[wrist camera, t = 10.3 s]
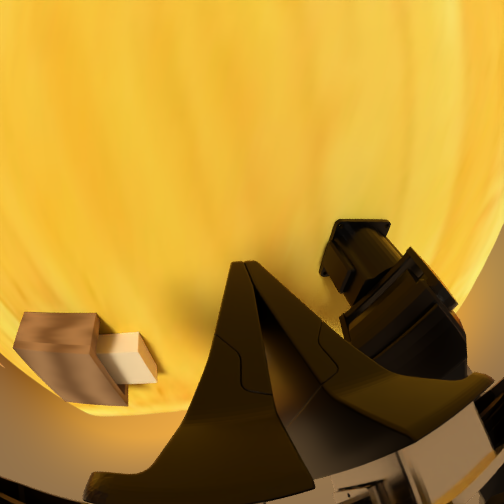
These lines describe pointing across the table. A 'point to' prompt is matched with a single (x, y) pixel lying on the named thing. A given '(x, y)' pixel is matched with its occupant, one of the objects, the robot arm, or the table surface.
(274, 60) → the table surface
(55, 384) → the wood grain block
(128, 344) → the beige block
